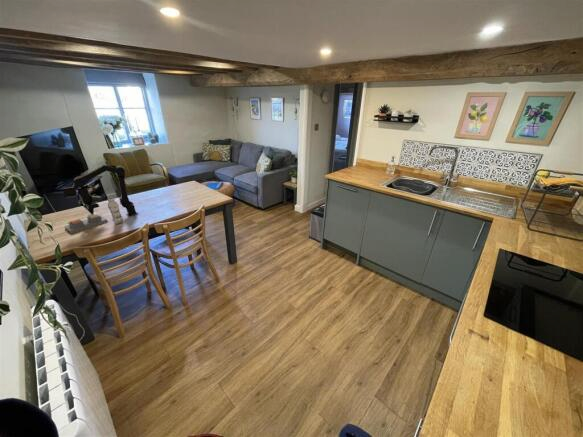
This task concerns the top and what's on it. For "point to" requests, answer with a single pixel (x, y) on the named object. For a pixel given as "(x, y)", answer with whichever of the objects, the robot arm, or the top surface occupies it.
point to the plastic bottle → (115, 211)
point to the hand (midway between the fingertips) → (92, 214)
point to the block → (85, 224)
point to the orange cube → (74, 220)
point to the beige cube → (93, 215)
